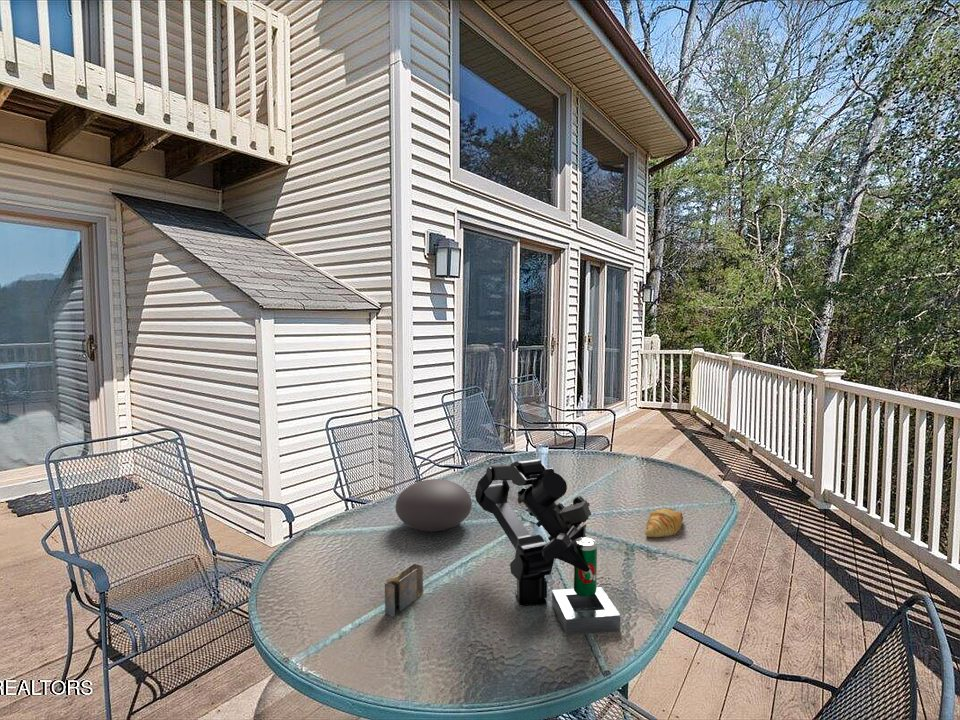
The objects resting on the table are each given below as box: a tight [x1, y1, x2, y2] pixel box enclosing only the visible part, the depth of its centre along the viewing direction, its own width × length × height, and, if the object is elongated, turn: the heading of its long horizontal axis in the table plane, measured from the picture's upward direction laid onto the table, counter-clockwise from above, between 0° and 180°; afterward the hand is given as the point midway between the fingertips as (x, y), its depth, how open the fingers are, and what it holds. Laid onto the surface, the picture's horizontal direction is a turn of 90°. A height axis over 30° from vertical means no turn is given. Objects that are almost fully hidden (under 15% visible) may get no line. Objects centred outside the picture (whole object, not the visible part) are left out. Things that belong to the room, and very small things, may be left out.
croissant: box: [644, 508, 684, 538], centre depth 166 cm, size 21×10×8 cm, turn 133°
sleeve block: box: [551, 586, 621, 636], centre depth 117 cm, size 12×12×4 cm
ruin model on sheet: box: [384, 562, 424, 617], centre depth 123 cm, size 11×3×10 cm, turn 151°
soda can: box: [573, 536, 598, 597], centre depth 117 cm, size 5×5×12 cm
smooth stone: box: [394, 478, 473, 533], centre depth 169 cm, size 25×25×15 cm
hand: (591, 565), depth 116 cm, fingers closed on soda can, 5 cm apart
